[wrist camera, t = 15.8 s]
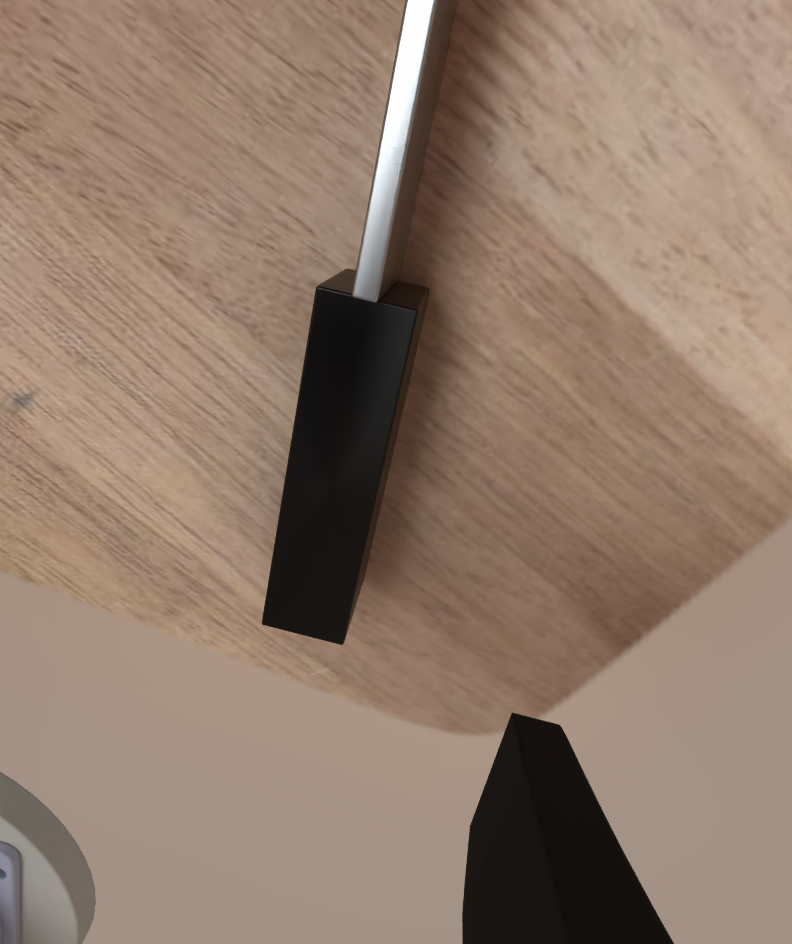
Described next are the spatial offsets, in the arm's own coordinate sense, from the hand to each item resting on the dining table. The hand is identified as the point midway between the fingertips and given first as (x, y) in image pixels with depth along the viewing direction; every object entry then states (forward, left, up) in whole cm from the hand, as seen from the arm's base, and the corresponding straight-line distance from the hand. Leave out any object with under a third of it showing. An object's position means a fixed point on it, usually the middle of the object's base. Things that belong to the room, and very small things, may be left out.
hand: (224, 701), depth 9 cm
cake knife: (+6, 0, -9) cm, 11 cm away
